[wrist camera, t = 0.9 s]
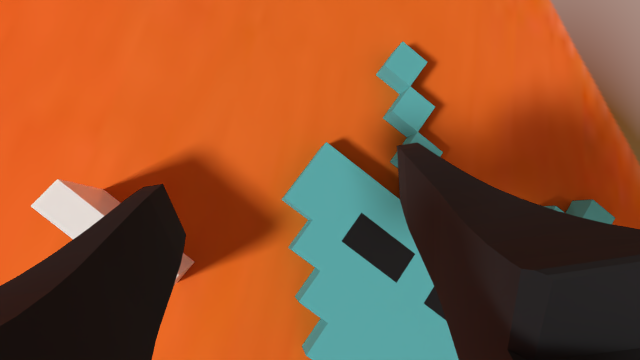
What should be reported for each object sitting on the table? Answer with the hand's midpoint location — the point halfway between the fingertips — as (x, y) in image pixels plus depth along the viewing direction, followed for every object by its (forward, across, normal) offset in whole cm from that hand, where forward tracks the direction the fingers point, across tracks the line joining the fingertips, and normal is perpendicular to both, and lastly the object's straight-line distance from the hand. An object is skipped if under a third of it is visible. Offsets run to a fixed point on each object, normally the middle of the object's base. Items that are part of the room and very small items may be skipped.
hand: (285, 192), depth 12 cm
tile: (+9, +11, +7) cm, 16 cm away
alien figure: (+10, -7, +14) cm, 18 cm away
